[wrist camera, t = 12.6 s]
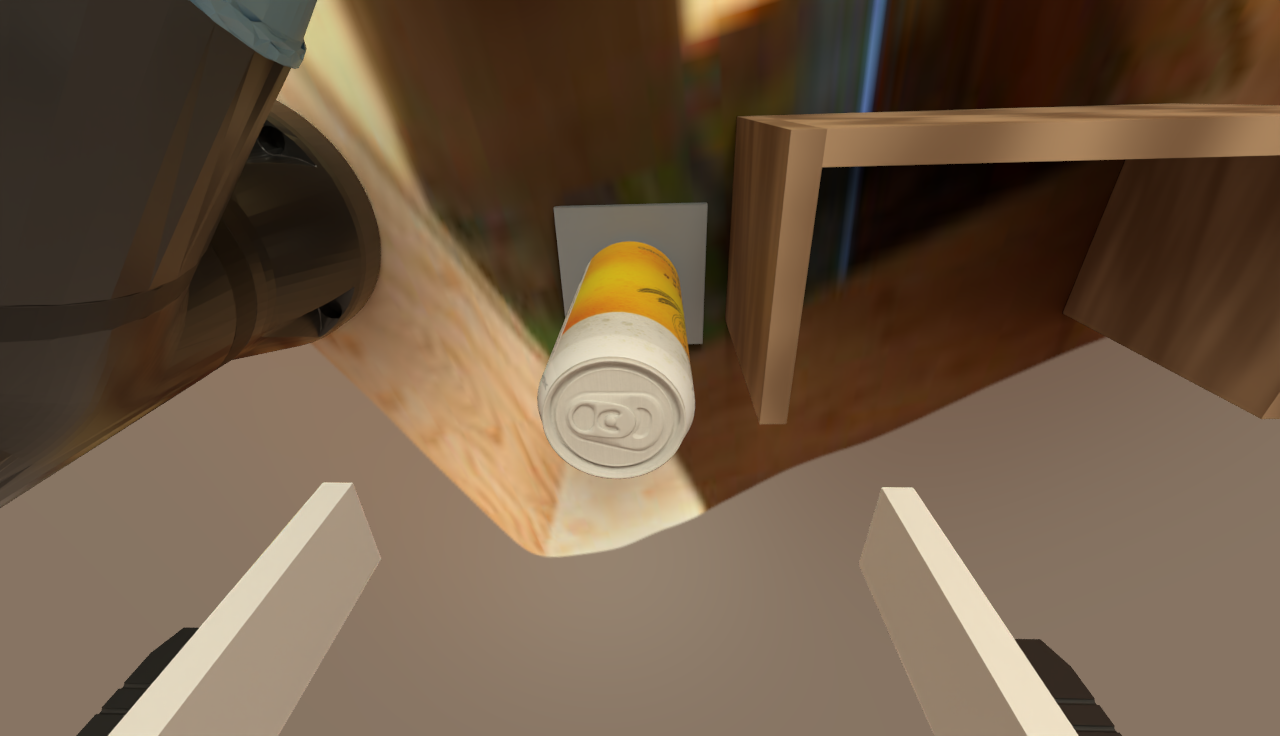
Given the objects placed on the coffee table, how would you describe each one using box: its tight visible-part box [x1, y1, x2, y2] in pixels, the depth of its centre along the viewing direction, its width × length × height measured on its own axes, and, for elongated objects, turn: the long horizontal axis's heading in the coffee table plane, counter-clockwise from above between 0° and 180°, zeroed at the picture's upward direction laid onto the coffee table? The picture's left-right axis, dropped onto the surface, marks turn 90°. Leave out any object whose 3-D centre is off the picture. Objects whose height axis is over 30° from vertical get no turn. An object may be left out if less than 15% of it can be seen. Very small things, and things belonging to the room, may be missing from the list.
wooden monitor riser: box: [725, 104, 1280, 424], centre depth 24 cm, size 23×12×12 cm, turn 92°
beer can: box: [537, 241, 695, 479], centre depth 25 cm, size 6×6×15 cm
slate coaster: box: [554, 202, 708, 344], centre depth 31 cm, size 9×9×1 cm
